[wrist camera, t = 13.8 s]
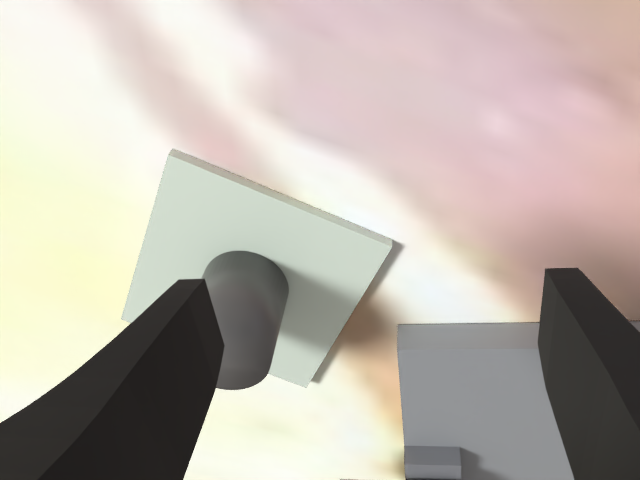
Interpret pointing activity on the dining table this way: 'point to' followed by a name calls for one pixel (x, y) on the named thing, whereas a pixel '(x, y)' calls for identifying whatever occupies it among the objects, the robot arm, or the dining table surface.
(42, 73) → the dining table surface
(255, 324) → the lid
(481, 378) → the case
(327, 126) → the dining table surface
